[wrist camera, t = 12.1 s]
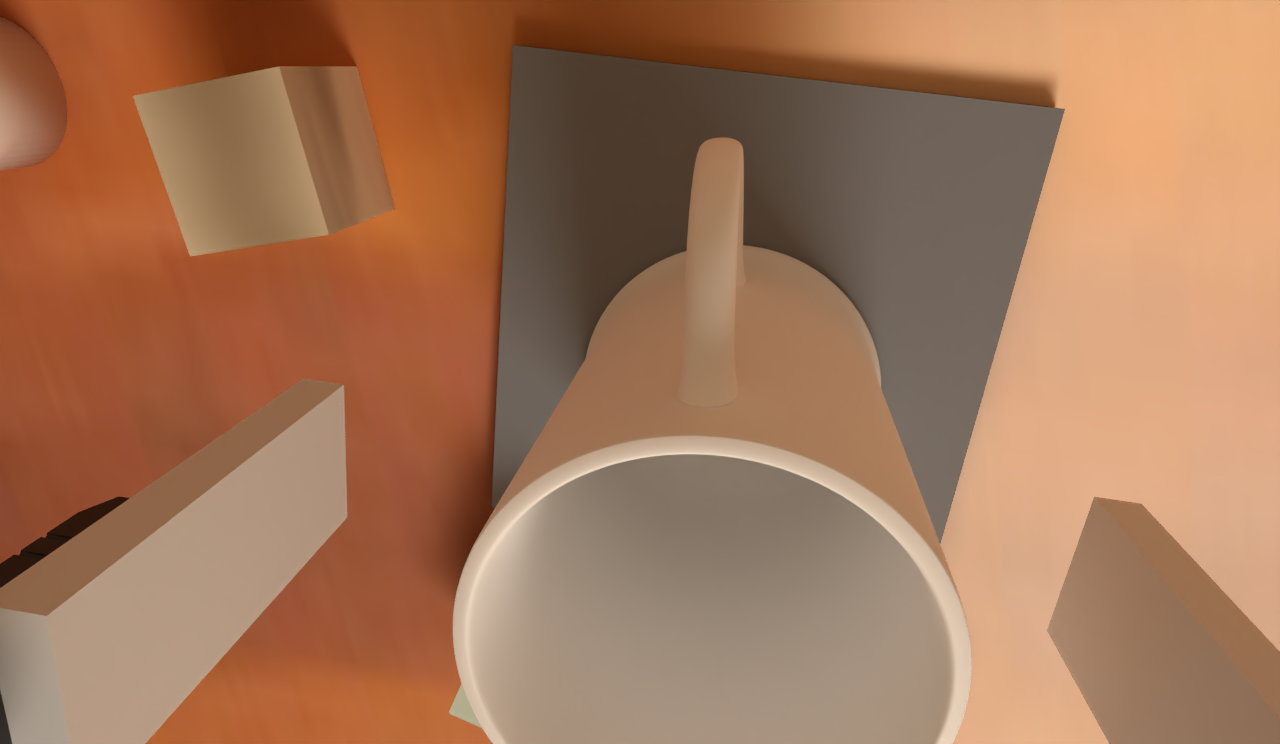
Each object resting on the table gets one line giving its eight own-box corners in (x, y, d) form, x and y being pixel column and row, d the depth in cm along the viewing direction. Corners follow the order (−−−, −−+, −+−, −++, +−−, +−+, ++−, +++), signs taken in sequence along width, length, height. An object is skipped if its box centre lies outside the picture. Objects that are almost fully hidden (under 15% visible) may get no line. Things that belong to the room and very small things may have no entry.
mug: (599, 106, 21) (421, 146, 10) (929, 133, 20) (1132, 209, 9) (579, 496, 26) (439, 824, 14) (852, 532, 25) (928, 913, 14)
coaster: (497, 497, 27) (491, 506, 26) (519, 45, 22) (512, 44, 21) (925, 570, 25) (929, 582, 25) (1056, 108, 20) (1064, 109, 20)
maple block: (276, 228, 25) (189, 256, 21) (232, 91, 23) (132, 95, 20) (396, 208, 24) (328, 234, 20) (358, 66, 23) (278, 65, 19)
